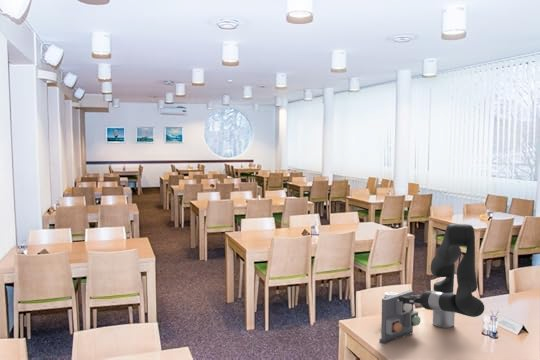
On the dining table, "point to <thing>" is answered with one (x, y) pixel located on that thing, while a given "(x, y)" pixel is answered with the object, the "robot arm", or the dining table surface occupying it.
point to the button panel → (395, 318)
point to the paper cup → (389, 294)
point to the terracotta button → (397, 327)
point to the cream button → (406, 307)
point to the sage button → (415, 320)
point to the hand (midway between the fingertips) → (406, 297)
